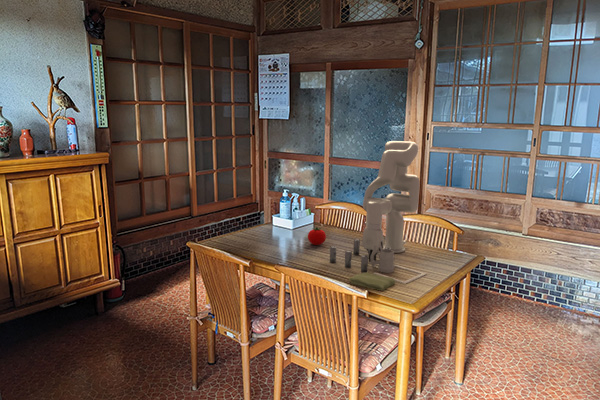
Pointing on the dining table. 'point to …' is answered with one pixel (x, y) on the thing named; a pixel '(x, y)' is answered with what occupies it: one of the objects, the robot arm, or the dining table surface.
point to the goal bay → (408, 270)
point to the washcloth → (372, 281)
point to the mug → (383, 260)
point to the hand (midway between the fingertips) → (372, 262)
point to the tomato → (316, 236)
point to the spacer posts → (349, 256)
